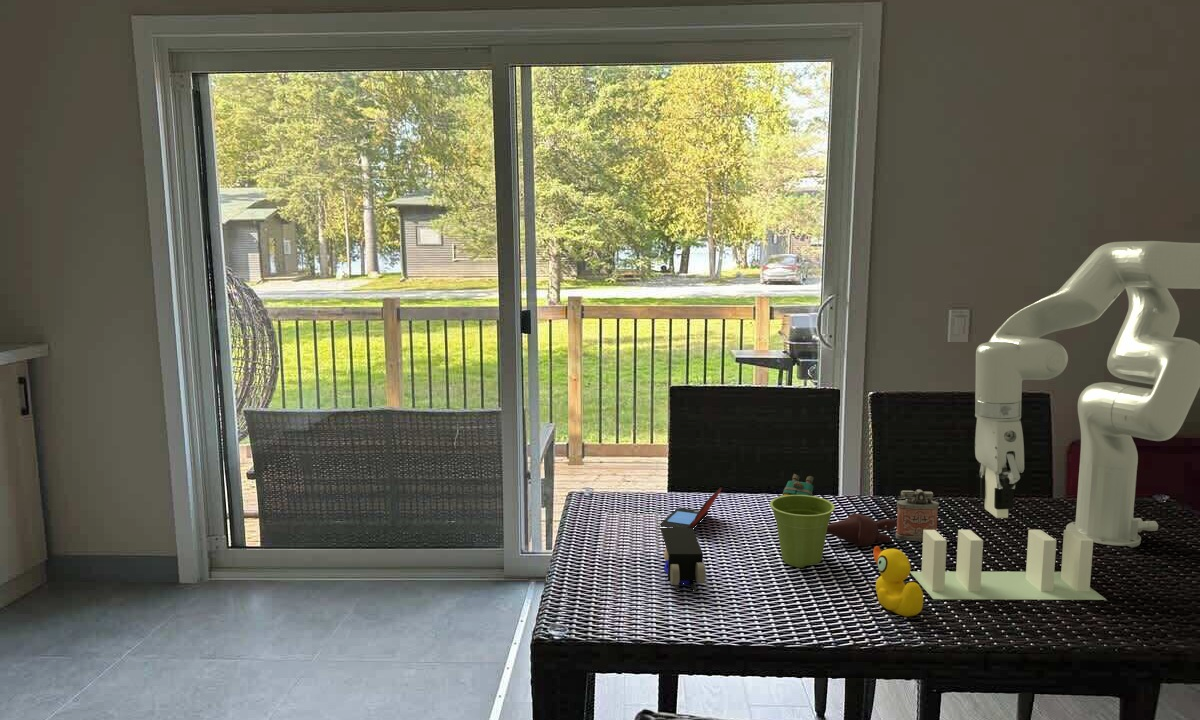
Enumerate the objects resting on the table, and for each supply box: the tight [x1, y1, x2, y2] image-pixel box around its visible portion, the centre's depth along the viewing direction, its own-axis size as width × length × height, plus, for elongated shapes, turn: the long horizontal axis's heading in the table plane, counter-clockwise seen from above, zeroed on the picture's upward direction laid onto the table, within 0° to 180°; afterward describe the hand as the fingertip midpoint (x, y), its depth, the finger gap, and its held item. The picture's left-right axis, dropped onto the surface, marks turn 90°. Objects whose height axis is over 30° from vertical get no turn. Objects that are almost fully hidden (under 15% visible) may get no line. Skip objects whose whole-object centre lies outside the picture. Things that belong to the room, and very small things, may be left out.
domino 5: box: [1060, 529, 1094, 591], centre depth 128 cm, size 2×5×9 cm, turn 177°
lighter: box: [895, 488, 940, 542], centre depth 153 cm, size 8×3×10 cm, turn 84°
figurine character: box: [660, 528, 707, 592], centre depth 136 cm, size 7×8×15 cm
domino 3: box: [984, 467, 1009, 519], centre depth 141 cm, size 2×5×9 cm, turn 177°
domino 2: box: [955, 529, 984, 591], centre depth 129 cm, size 2×5×9 cm, turn 177°
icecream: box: [826, 511, 897, 548], centre depth 149 cm, size 7×8×15 cm
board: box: [910, 570, 1107, 601], centre depth 130 cm, size 28×11×1 cm, turn 87°
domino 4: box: [1025, 529, 1057, 591], centre depth 129 cm, size 2×5×9 cm, turn 177°
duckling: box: [873, 545, 924, 618], centre depth 122 cm, size 11×5×10 cm, turn 15°
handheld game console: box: [659, 487, 722, 528], centre depth 164 cm, size 12×11×7 cm
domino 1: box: [921, 530, 948, 591], centre depth 129 cm, size 2×5×9 cm, turn 178°
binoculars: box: [779, 473, 814, 497], centre depth 165 cm, size 9×9×10 cm
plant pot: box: [769, 495, 836, 569], centre depth 142 cm, size 12×12×11 cm
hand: (996, 502), depth 141 cm, fingers closed on domino 3, 4 cm apart
